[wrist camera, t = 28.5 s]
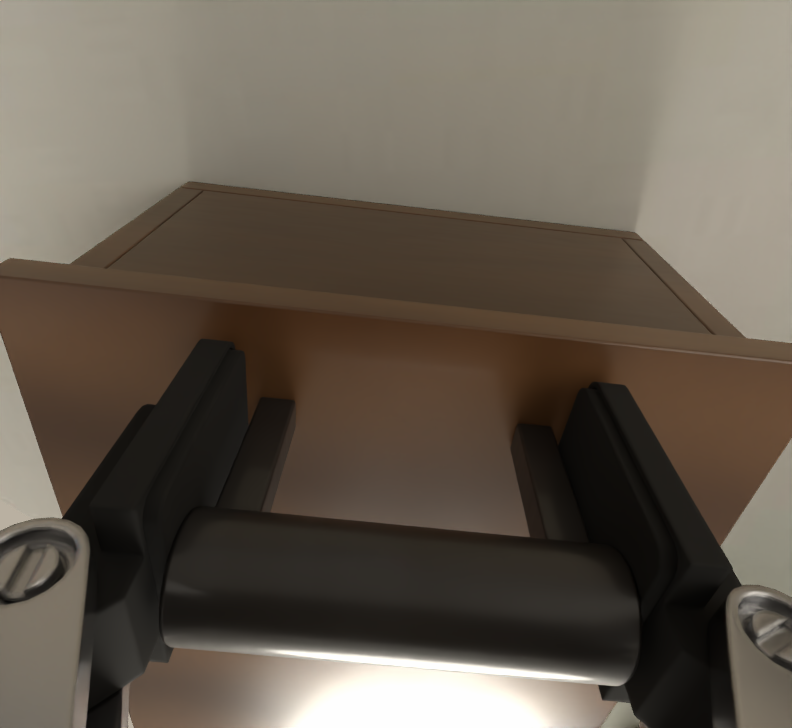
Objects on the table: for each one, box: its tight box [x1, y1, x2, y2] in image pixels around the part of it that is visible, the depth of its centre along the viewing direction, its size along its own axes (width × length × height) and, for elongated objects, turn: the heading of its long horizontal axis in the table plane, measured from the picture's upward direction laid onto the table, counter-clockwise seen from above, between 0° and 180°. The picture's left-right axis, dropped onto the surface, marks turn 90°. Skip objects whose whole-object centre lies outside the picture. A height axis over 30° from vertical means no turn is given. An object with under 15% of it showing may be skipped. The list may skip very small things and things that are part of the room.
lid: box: [0, 258, 792, 728], centre depth 13 cm, size 18×15×5 cm
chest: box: [69, 182, 746, 338], centre depth 19 cm, size 18×15×9 cm
